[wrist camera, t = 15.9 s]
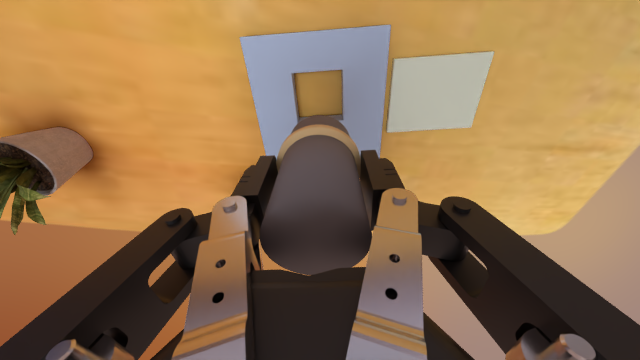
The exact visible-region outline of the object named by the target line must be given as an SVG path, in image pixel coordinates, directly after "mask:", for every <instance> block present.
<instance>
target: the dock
mask: <svg viewBox="0 0 640 360" xmlns="http://www.w3.org/2000/svg"><path fill="white" fill-rule="evenodd" d="M390 30H391V25H379V26H367V27H355V28H343V29H331V30H319V31H307V32H295V33H283V34H270V35H258V36H246V37H240V41H241V46H242V50H243V55H244V59H245V64H246V68H247V72H248V77H249V81H250V86H251V90H252V95H253V99H254V104H255V108H256V113H257V117H258V121H259V126H260V130H261V135H262V139H263V144H264V148H265V153H266V156H271V155H275V157H276V160H277V156H278V153H279V151H280V148H281V146H282V144H283V142H284V141H285V139H286V138H287V137H288V136H289V135H290V134H291V132H292V130H293V129H294V127H295V126H296V125H297V124H298V123H299V122H300V121H302V120H303V119H305V118H308V117H299V112H298V104H297V96H296V88H295V80H294V73H302V72H315V71H329V70H342V115H328V116H329V117H332V118H334V119H336V120H338V121H339V122H340V123H342V124H343V125H344V126H345V128H346V129H347V131H348V133H349V135H350V138H351V139H352V140H353V141H354V142H355V144H356V146H357V148H358V150H359V154H360V155H361V150H376V152H377V155H378V157H379V159H380V147H381V136H382V124H383V112H384V100H385V89H386V77H387V65H388V53H389V41H390Z"/></svg>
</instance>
